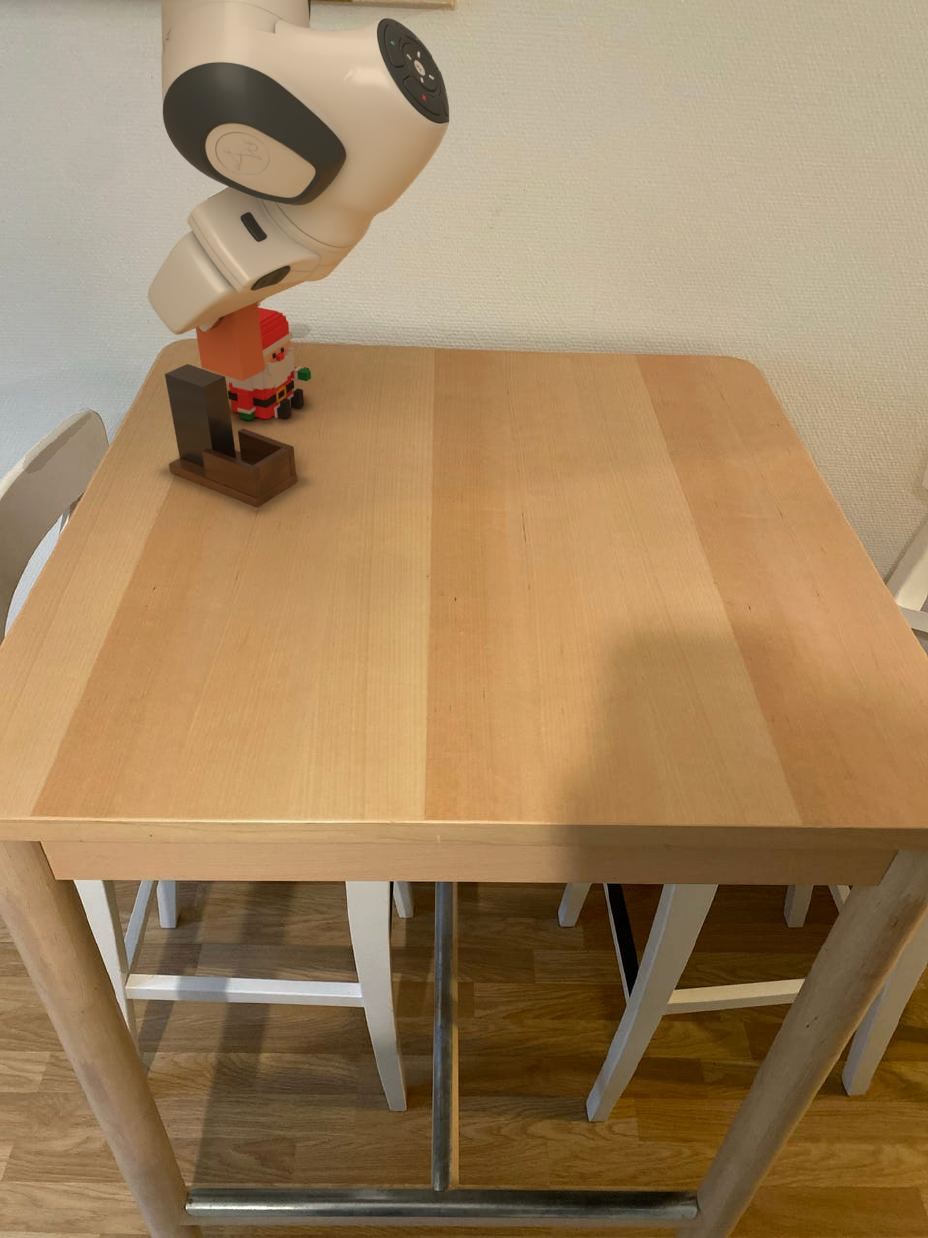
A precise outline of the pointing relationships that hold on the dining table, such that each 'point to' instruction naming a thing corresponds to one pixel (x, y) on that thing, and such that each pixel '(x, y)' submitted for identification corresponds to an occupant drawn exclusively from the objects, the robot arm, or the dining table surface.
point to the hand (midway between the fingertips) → (220, 314)
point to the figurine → (270, 374)
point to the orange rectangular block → (233, 345)
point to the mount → (223, 442)
